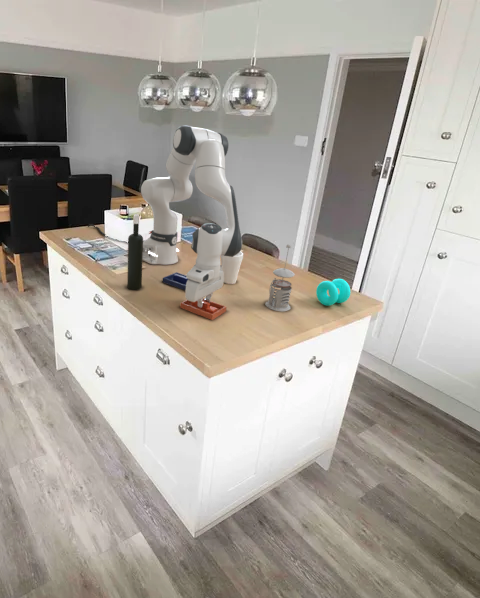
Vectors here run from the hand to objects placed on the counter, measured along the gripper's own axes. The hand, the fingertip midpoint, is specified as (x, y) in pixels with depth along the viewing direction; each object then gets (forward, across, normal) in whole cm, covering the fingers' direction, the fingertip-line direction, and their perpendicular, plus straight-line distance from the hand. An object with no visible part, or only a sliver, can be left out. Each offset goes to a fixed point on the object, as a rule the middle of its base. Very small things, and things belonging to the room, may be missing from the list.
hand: (203, 305), depth 155 cm
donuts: (+2, -42, +34) cm, 54 cm away
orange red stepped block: (+1, 0, 0) cm, 1 cm away
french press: (+2, -23, +19) cm, 30 cm away
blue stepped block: (+1, -15, -20) cm, 25 cm away
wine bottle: (+2, +3, -32) cm, 32 cm away
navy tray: (+2, -14, -20) cm, 25 cm away
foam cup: (+2, -32, -8) cm, 33 cm away
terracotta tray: (+2, 0, 0) cm, 2 cm away
